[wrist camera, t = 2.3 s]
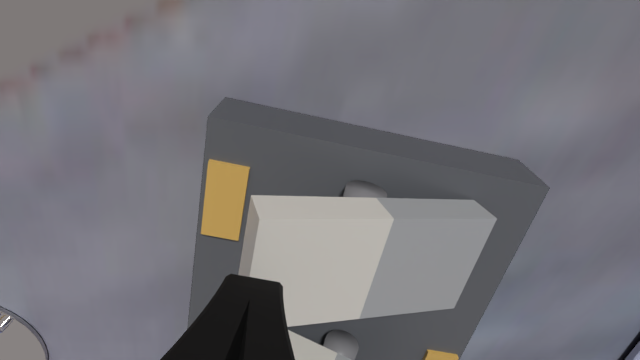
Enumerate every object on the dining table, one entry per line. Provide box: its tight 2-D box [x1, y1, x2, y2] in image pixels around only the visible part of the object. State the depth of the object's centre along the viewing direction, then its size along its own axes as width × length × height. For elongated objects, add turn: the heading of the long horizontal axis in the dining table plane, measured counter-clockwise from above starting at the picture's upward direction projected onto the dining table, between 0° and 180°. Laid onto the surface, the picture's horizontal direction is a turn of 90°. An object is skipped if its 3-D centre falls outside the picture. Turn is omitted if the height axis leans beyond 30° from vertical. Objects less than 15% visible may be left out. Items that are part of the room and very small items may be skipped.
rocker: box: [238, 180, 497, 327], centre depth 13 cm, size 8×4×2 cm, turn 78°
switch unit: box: [187, 97, 550, 360], centre depth 19 cm, size 12×20×3 cm, turn 168°
